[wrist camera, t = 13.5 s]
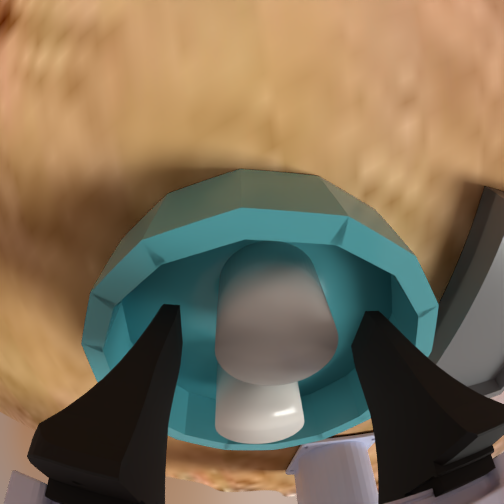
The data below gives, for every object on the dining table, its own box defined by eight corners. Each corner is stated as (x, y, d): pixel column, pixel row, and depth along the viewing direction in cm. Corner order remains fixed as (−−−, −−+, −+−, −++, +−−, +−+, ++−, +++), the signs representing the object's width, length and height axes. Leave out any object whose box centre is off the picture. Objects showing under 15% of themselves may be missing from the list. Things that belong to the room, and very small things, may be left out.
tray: (491, 376, 23) (500, 394, 21) (382, 399, 22) (390, 424, 20) (578, 218, 14) (597, 233, 12) (484, 186, 13) (514, 205, 11)
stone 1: (306, 320, 15) (321, 384, 12) (217, 317, 15) (214, 384, 12) (325, 244, 13) (353, 304, 10) (221, 237, 13) (215, 300, 9)
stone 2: (288, 387, 18) (296, 441, 15) (217, 387, 18) (216, 443, 15) (299, 340, 16) (312, 402, 13) (216, 340, 16) (213, 404, 12)
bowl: (353, 397, 21) (365, 441, 18) (136, 392, 20) (126, 439, 16) (440, 194, 13) (489, 233, 10) (90, 165, 12) (42, 201, 8)
